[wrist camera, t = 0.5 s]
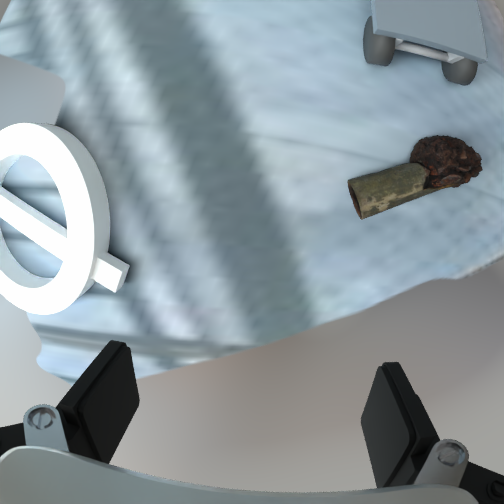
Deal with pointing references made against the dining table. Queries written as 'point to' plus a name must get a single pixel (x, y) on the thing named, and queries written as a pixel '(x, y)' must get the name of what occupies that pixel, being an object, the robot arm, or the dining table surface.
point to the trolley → (428, 34)
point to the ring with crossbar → (51, 233)
